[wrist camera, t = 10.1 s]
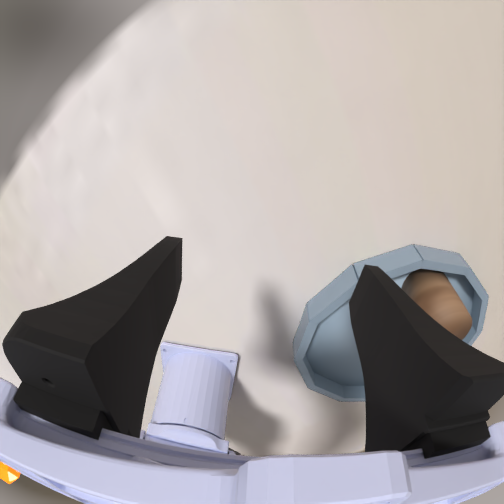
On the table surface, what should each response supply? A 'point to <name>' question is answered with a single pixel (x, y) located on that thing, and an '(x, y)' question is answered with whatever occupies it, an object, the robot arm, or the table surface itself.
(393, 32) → the table surface
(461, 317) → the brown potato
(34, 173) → the table surface
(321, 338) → the round tray
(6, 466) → the orange juice
